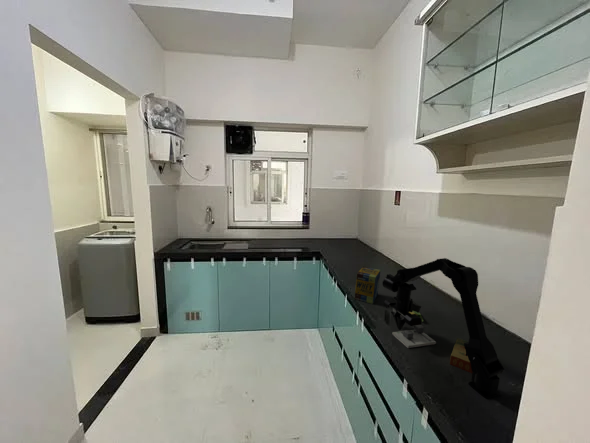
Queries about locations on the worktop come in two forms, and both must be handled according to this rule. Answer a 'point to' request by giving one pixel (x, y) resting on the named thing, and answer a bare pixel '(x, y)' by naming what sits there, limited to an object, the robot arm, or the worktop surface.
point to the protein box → (367, 284)
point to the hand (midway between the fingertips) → (399, 329)
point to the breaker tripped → (408, 334)
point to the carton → (460, 356)
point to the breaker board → (414, 339)
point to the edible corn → (416, 314)
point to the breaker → (418, 328)
